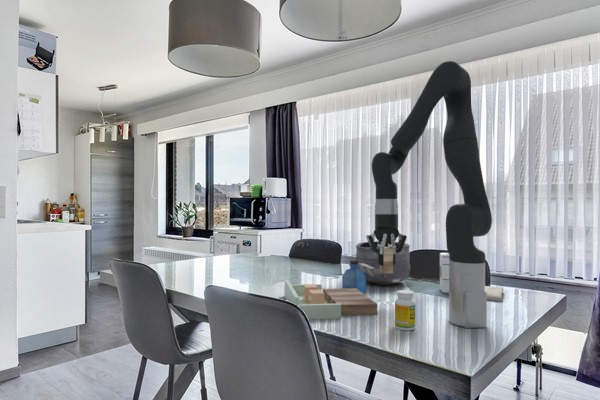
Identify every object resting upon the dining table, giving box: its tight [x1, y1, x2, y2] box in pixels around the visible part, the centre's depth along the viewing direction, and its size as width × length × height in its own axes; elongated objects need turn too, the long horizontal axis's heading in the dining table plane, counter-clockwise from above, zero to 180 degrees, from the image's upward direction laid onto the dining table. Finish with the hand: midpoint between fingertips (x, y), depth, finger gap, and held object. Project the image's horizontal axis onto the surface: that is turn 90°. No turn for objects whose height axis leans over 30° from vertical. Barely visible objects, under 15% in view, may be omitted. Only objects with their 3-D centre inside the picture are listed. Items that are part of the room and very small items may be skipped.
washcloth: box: [485, 285, 505, 303], centre depth 143 cm, size 12×18×3 cm, turn 151°
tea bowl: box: [355, 240, 411, 286], centre depth 163 cm, size 25×22×17 cm
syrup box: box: [439, 252, 449, 294], centre depth 148 cm, size 6×6×14 cm
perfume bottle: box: [341, 259, 367, 295], centre depth 143 cm, size 6×6×12 cm
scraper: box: [358, 247, 393, 277], centre depth 127 cm, size 16×8×8 cm, turn 9°
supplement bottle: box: [394, 289, 416, 331], centre depth 103 cm, size 5×5×10 cm
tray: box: [283, 279, 342, 320], centre depth 124 cm, size 28×13×6 cm, turn 8°
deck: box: [322, 287, 378, 316], centre depth 126 cm, size 22×12×3 cm, turn 8°
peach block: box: [309, 289, 324, 304], centre depth 120 cm, size 5×5×4 cm
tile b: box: [303, 283, 318, 303], centre depth 128 cm, size 5×5×4 cm
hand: (386, 265), depth 127 cm, fingers closed on scraper, 3 cm apart
